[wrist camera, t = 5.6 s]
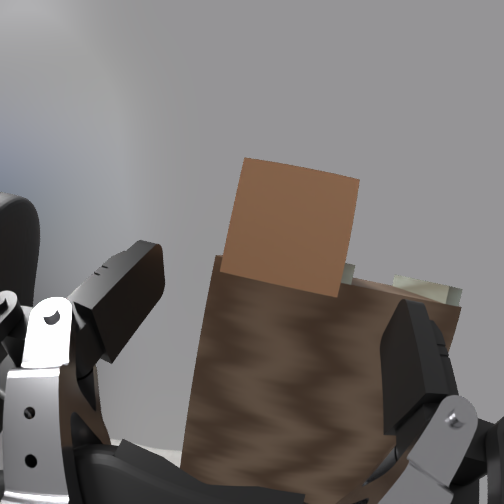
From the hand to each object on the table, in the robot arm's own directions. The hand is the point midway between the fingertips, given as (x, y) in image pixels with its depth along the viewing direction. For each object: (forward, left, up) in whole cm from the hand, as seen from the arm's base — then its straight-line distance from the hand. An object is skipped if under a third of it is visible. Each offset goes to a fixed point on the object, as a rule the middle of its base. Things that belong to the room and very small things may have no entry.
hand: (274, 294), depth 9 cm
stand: (+4, +14, -32) cm, 35 cm away
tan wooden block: (0, +12, 0) cm, 12 cm away
